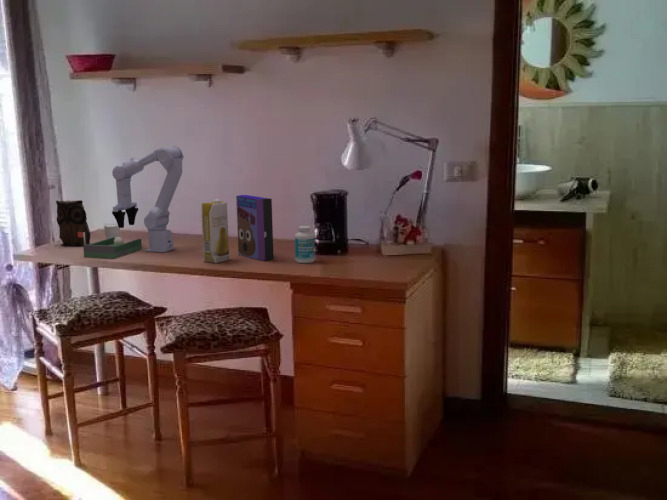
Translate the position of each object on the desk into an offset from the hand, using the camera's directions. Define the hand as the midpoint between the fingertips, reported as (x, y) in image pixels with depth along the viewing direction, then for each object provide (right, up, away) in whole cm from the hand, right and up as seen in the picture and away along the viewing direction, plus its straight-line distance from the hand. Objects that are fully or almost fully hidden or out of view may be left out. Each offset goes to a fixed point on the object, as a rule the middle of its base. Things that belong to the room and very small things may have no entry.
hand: (126, 226), depth 320 cm
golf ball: (-2, -7, -6) cm, 9 cm away
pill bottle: (+77, -15, -31) cm, 84 cm away
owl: (-24, -8, +12) cm, 28 cm away
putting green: (-4, -11, -8) cm, 14 cm away
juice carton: (+42, -14, -27) cm, 52 cm away
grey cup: (-11, -6, +19) cm, 23 cm away
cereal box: (+57, -13, -22) cm, 62 cm away
